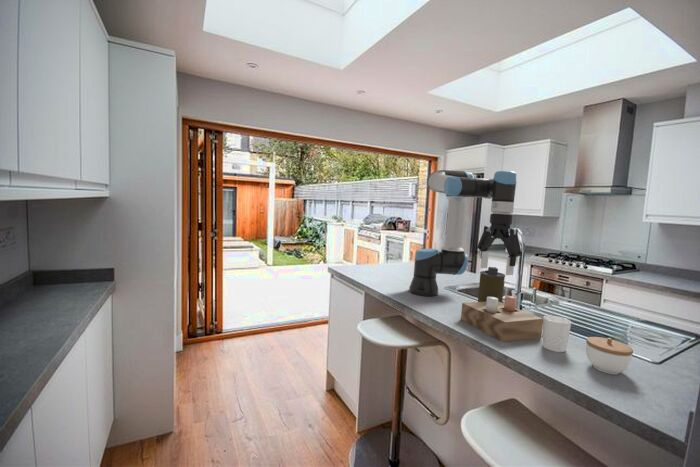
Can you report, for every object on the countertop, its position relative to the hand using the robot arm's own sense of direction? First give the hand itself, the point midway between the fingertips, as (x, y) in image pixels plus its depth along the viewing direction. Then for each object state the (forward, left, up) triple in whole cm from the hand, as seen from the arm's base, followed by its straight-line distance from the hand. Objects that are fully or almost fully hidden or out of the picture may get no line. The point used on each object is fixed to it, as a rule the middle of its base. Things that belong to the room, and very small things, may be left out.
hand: (495, 271), depth 122 cm
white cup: (+19, +9, -23) cm, 31 cm away
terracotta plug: (0, +9, -16) cm, 18 cm away
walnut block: (0, +4, -22) cm, 23 cm away
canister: (-18, +16, -23) cm, 33 cm away
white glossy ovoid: (0, 0, -16) cm, 16 cm away
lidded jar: (+34, +11, -23) cm, 42 cm away
